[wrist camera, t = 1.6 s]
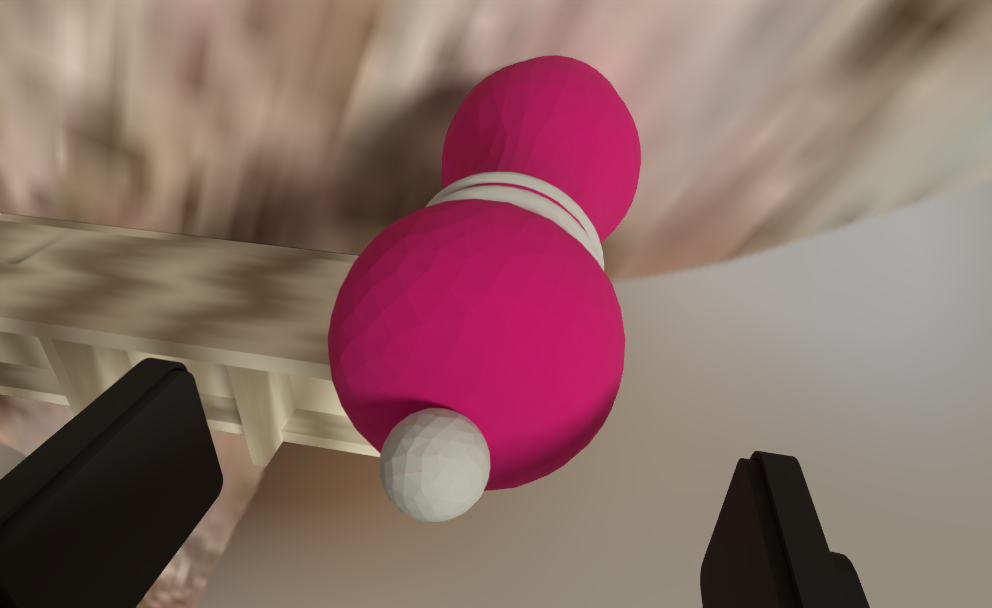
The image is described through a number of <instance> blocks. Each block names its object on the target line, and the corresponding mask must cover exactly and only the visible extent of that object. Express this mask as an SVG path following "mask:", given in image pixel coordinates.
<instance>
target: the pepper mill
mask: <svg viewBox="0 0 992 608" xmlns="http://www.w3.org/2000/svg"><path fill="white" fill-rule="evenodd" d="M640 165H641V150H640V142H639V137H638V132H637V129H636V126H635V123H634V121H633V118H632V116H631V114H630V112H629V111H628V109H627V107H626V105H625V103H624V102H623V101H622V99H621V98H620V97H619V96H618V94H617V92H616V91H615V89H614V88H613V86H612V85H611V83H610V82H609V81H608V80H607V79H606V78H605V77H604V76H603V75H602V74H601V73H599V72H598V71H597V70H596V69H594V68H593V67H591V66H590V65H588V64H586V63H584V62H581V61H578V60H576V59H573V58H569V57H563V56H543V57H538V58H534V59H531V60H527V61H525V62H520V63H516V64H513V65H510V66H508V67H505V68H502V69H500V70H499V71H497V72H495V73H493V74H492V75H490V76H488V77H487V78H485V79H484V80H483V81H482V82H481V83H479V84H478V85H477V86H476V87H475V88H474V89H473V90H472V91H471V92H470V93H469V95H468V96H467V97H466V98H465V99H464V101H463V102H462V104H461V106H460V108H459V110H458V111H457V113H456V115H455V117H454V119H453V121H452V123H451V125H450V127H449V129H448V132H447V135H446V139H445V142H444V147H443V155H442V184H443V189H442V190H441V191H440V192H439V193H438V194H436V195H435V196H434V197H433V198H432V199H431V201H430V202H429V203H428V204H427V205H426V207H425V208H422V209H419V210H416V211H414V212H412V213H410V214H408V215H407V216H405V217H403V218H401V219H400V220H398V221H396V222H394V223H393V224H391V225H389V226H388V227H386V228H385V229H384V230H383V231H382V232H381V233H380V234H379V235H378V236H377V237H375V238H374V240H373V241H372V242H371V243H370V244H369V245H368V246H367V248H366V249H365V250H364V251H363V252H362V253H361V254H360V256H359V257H358V258H357V259H356V260H355V261H354V263H353V265H352V267H351V269H350V271H349V272H348V274H347V276H346V278H345V280H344V282H343V284H342V286H341V288H340V290H339V292H338V296H337V299H336V302H335V305H334V308H333V312H332V315H331V320H330V326H329V332H328V353H329V362H330V369H331V376H332V382H333V384H334V387H335V390H336V393H337V395H338V398H339V401H340V403H341V406H342V408H343V409H344V411H345V413H346V414H347V416H348V418H349V419H350V421H351V422H352V424H353V426H354V427H355V429H356V430H357V431H358V432H359V433H360V434H361V435H362V436H363V437H364V438H365V439H366V440H367V441H368V442H369V443H370V444H371V445H372V446H373V447H374V448H375V449H376V450H377V451H378V452H379V453H380V477H381V481H382V484H383V487H384V489H385V491H386V493H387V495H388V497H389V499H390V500H391V501H392V502H393V504H394V505H395V506H396V507H397V508H398V509H399V510H400V511H401V512H403V513H405V514H407V515H409V516H411V517H413V518H415V519H418V520H420V521H427V522H439V521H447V520H450V519H452V518H454V517H456V516H459V515H460V514H463V513H465V512H466V511H467V510H468V509H469V508H470V507H471V506H472V505H473V504H474V503H475V502H476V501H477V500H478V499H479V498H480V496H481V494H482V493H483V491H484V490H498V489H506V488H515V487H518V486H521V485H523V484H526V483H529V482H532V481H534V480H537V479H539V478H542V477H544V476H546V475H549V474H550V473H552V472H554V471H555V470H557V469H559V468H560V467H562V466H563V465H565V464H566V463H567V462H568V461H569V460H571V459H572V458H573V457H574V456H576V454H578V453H579V452H580V451H581V450H582V449H584V448H585V447H586V446H587V445H588V444H589V443H590V441H591V440H592V439H593V437H594V436H595V435H596V434H597V432H598V431H599V429H600V428H601V427H602V426H603V424H604V422H605V420H606V418H607V417H608V415H609V413H610V411H611V409H612V406H613V403H614V401H615V398H616V395H617V393H618V390H619V386H620V382H621V377H622V373H623V366H624V350H625V335H624V328H623V322H622V314H621V308H620V306H619V303H618V300H617V297H616V294H615V291H614V288H613V285H612V283H611V282H610V280H609V278H608V277H607V275H606V274H605V272H604V260H603V252H602V247H601V243H602V242H603V241H604V240H605V239H606V238H607V237H608V236H609V235H610V234H611V233H612V232H613V231H614V230H615V229H616V227H617V226H618V225H619V223H620V222H621V221H622V219H623V218H624V217H625V215H626V213H627V211H628V209H629V207H630V206H631V204H632V201H633V198H634V195H635V192H636V189H637V184H638V179H639V172H640Z"/></svg>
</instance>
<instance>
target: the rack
mask: <svg viewBox="0 0 992 608" xmlns="http://www.w3.org/2000/svg"><path fill="white" fill-rule="evenodd" d="M358 257H359V256H357V255H349V254H340V253H332V252H323V251H315V250H306V249H298V248H290V247H281V246H273V245H264V244H256V243H247V242H239V241H231V240H222V239H214V238H205V237H197V236H188V235H180V234H172V233H163V232H155V231H146V230H138V229H129V228H121V227H113V226H104V225H96V224H87V223H79V222H70V221H62V220H54V219H45V218H37V217H28V216H20V215H11V214H3V213H0V394H2V395H8V396H14V397H20V398H26V399H32V400H38V401H44V402H50V403H56V404H62V405H68V406H70V407H71V409H72V411H73V413H74V415H75V416H76V415H77V414H79V413H80V412H81V411H82V410H83V409H85V408H86V407H87V406H88V405H89V404H90V403H92V402H93V401H94V400H95V399H96V398H98V397H99V396H100V395H101V394H102V393H103V392H105V391H106V390H107V389H108V388H109V387H111V386H112V385H113V384H114V383H115V382H116V381H118V380H119V379H120V378H121V377H122V376H124V375H125V374H126V373H127V372H128V371H129V370H131V369H132V368H133V367H134V366H135V365H137V364H138V363H139V362H140V361H142V360H144V359H146V358H157V359H163V360H170V361H176V362H181V363H183V364H184V365H185V366H186V368H187V370H188V372H190V373H191V374H193V376H194V378H195V382H196V385H197V389H198V392H199V396H200V399H201V403H202V406H203V410H204V413H205V416H206V420H207V423H208V427H209V429H214V430H220V431H226V432H232V433H238V434H244V435H245V436H246V440H247V444H248V448H249V451H250V455H251V459H252V462H253V464H256V465H262V466H267V464H268V463H269V461H270V460H271V458H272V457H273V455H274V454H275V452H276V451H277V449H278V447H279V446H280V445H281V443H282V442H283V441H286V442H292V443H298V444H305V445H311V446H316V447H323V448H328V449H335V450H341V451H347V452H353V453H359V454H365V455H371V456H377V457H380V453H379V452H378V451H377V450H376V449H375V448H374V447H373V446H372V445H371V444H370V443H369V442H368V441H367V440H366V439H365V438H364V437H363V436H362V435H361V434H360V433H359V432H358V431H357V430H356V429H355V427H354V426H353V424H352V422H351V421H350V419H349V418H348V416H347V414H346V413H345V411H344V409H343V408H342V406H341V403H340V401H339V398H338V395H337V393H336V390H335V387H334V384H333V382H332V376H331V369H330V362H329V353H328V332H329V326H330V320H331V315H332V312H333V308H334V305H335V302H336V299H337V296H338V292H339V290H340V288H341V286H342V284H343V282H344V280H345V278H346V276H347V274H348V272H349V271H350V269H351V267H352V265H353V263H354V261H355V260H356V259H357V258H358Z"/></svg>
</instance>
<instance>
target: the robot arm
mask: <svg viewBox="0 0 992 608" xmlns="http://www.w3.org/2000/svg"><path fill="white" fill-rule="evenodd" d="M222 485H223V475H222V472H221V468H220V465H219V461H218V458H217V455H216V451H215V448H214V444H213V441H212V437H211V434H210V430H209V427H208V423H207V420H206V416H205V413H204V410H203V406H202V403H201V399H200V396H199V392H198V389H197V385H196V382H195V378H194V376H193V374H191V373H190V372H188V370H187V368H186V366H185V365H184V364H183V363H181V362H176V361H170V360H163V359H157V358H146V359H144V360H142V361H140V362H139V363H138V364H137V365H135V366H134V367H133V368H132V369H131V370H129V371H128V372H127V373H126V374H125V375H124V376H122V377H121V378H120V379H119V380H118V381H116V382H115V383H114V384H113V385H112V386H111V387H109V388H108V389H107V390H106V391H105V392H103V393H102V394H101V395H100V396H99V397H98V398H96V399H95V400H94V401H93V402H92V403H90V404H89V405H88V406H87V407H86V408H85V409H83V410H82V411H81V412H80V413H79V414H77V415H76V416H75V417H74V418H73V419H72V420H70V421H69V422H68V423H67V424H66V425H64V426H63V427H62V428H61V429H60V430H59V431H57V432H56V433H55V434H54V435H53V436H51V437H50V438H49V439H48V440H47V441H46V442H44V443H43V444H42V445H41V446H40V447H39V448H37V449H36V450H35V451H34V452H33V453H31V454H30V455H29V456H28V457H27V458H26V459H25V460H23V461H22V462H21V463H20V464H18V466H16V467H15V468H14V469H13V470H11V471H10V472H9V473H8V474H7V475H5V476H4V477H3V478H2V479H1V480H0V608H136V606H137V605H138V604H139V602H140V601H141V600H142V598H143V597H144V596H145V594H146V593H147V591H148V590H149V589H150V587H151V586H152V585H153V583H154V582H155V581H156V579H157V578H158V577H159V575H160V574H161V573H162V571H163V570H164V569H165V567H166V566H167V565H168V563H169V562H170V561H171V559H172V558H173V557H174V555H175V554H176V553H177V551H178V550H179V548H180V547H181V546H182V544H183V543H184V542H185V540H186V539H187V538H188V536H189V535H190V534H191V532H192V531H193V530H194V528H195V527H196V526H197V524H198V523H199V522H200V520H201V519H202V518H203V516H204V515H205V514H206V512H207V511H208V510H209V508H210V507H211V505H212V504H213V503H214V501H215V500H216V499H217V497H218V496H219V494H220V491H221V489H222ZM700 586H701V596H702V604H703V608H870V607H869V604H868V602H867V599H866V596H865V594H864V591H863V588H862V586H861V583H860V580H859V578H858V575H857V573H856V571H855V569H854V567H853V565H852V563H851V561H850V560H849V559H848V558H847V557H846V556H845V555H843V554H840V553H835V552H830V551H829V548H828V545H827V542H826V539H825V537H824V533H823V530H822V527H821V525H820V522H819V519H818V516H817V513H816V510H815V507H814V504H813V502H812V499H811V496H810V493H809V490H808V487H807V484H806V481H805V478H804V475H803V473H802V470H801V467H800V464H799V462H798V460H797V459H796V458H795V457H793V456H787V455H780V454H774V453H767V452H761V451H755V452H754V453H753V454H752V456H751V458H750V459H744V458H741V459H740V460H739V461H738V463H737V466H736V469H735V472H734V475H733V477H732V480H731V483H730V486H729V489H728V492H727V494H726V497H725V500H724V503H723V506H722V509H721V511H720V514H719V517H718V520H717V523H716V526H715V528H714V532H713V535H712V537H711V540H710V543H709V546H708V548H707V551H706V554H705V557H704V560H703V563H702V567H701V575H700Z"/></svg>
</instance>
